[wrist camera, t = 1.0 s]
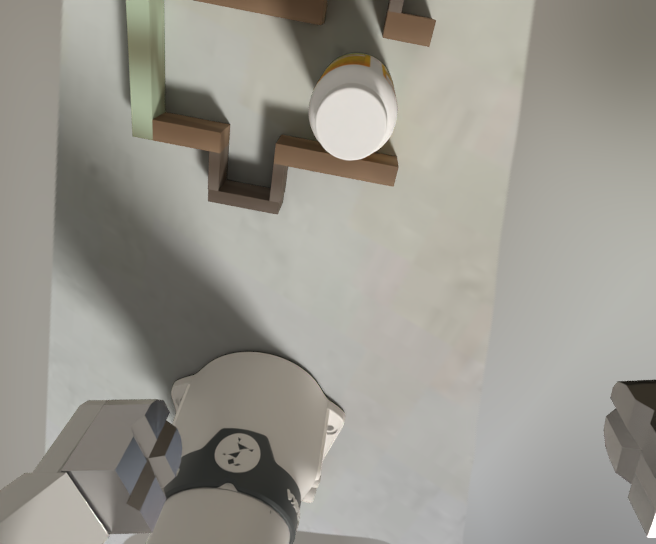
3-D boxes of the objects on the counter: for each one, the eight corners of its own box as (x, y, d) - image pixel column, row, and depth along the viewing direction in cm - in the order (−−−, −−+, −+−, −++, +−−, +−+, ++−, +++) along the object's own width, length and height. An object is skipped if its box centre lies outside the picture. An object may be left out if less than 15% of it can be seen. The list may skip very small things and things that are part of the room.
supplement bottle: (305, 105, 35) (284, 141, 26) (344, 35, 32) (333, 51, 24) (367, 144, 36) (364, 190, 27) (408, 79, 33) (420, 109, 25)
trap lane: (380, 220, 39) (381, 234, 37) (148, 176, 39) (135, 187, 36) (449, -54, 29) (455, -58, 27) (138, -117, 29) (119, -126, 27)
